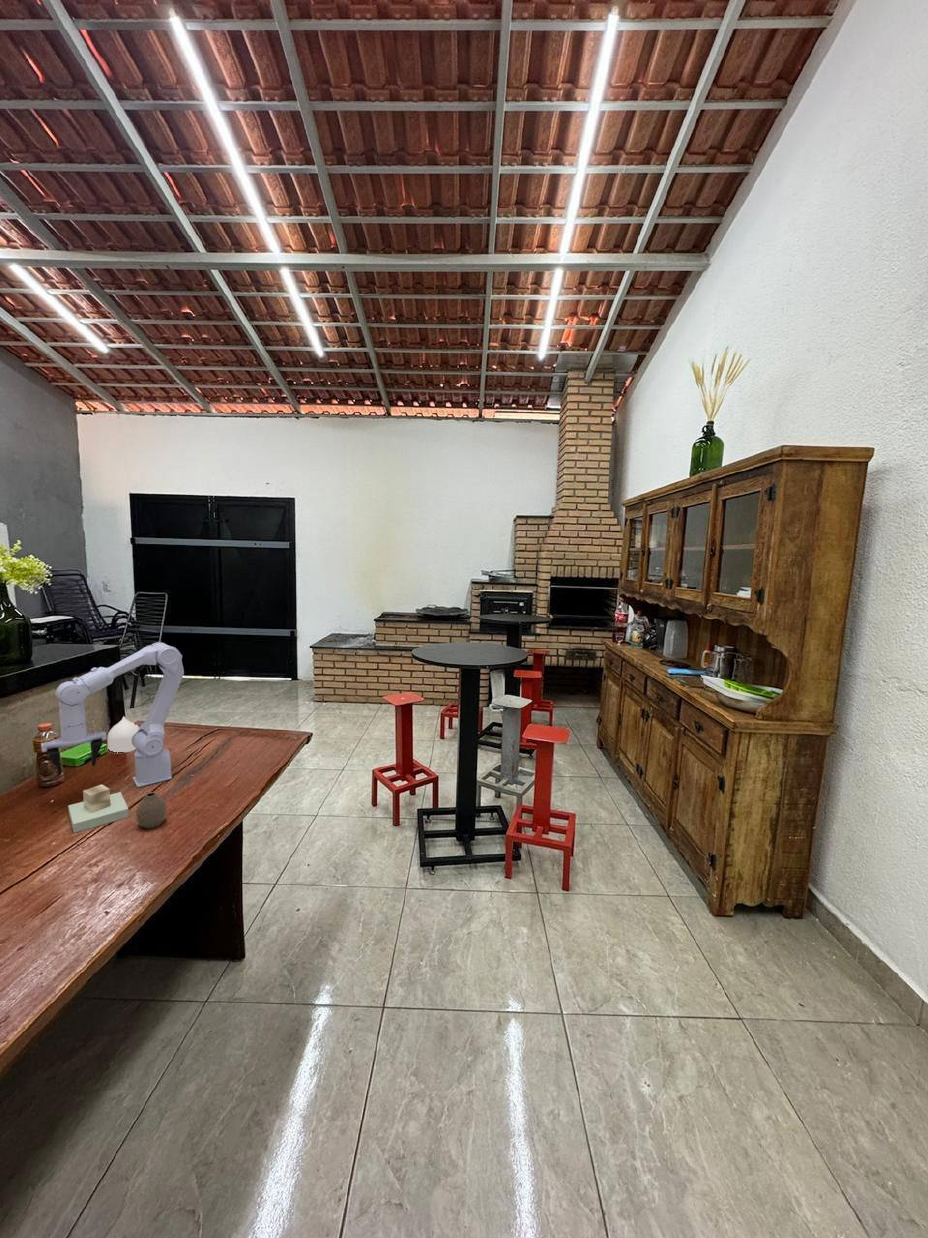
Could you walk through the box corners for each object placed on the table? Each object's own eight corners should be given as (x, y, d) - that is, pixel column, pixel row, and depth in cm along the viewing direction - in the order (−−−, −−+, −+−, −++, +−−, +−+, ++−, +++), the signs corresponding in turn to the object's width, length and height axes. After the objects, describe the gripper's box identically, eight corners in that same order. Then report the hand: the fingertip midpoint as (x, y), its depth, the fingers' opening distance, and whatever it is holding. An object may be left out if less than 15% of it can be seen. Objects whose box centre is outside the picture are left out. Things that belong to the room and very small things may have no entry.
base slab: (121, 800, 144) (120, 792, 144) (128, 817, 135) (128, 808, 135) (69, 814, 136) (68, 805, 135) (73, 833, 127) (73, 824, 127)
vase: (173, 820, 134) (171, 791, 133) (149, 834, 128) (148, 803, 127) (154, 815, 137) (152, 786, 135) (130, 828, 130) (128, 797, 129)
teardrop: (150, 743, 184) (149, 713, 182) (122, 755, 173) (120, 723, 172) (128, 739, 187) (127, 709, 185) (99, 750, 177) (97, 718, 175)
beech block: (102, 801, 138) (101, 784, 138) (110, 805, 136) (109, 788, 135) (84, 807, 135) (82, 790, 134) (91, 812, 132) (90, 795, 132)
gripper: (102, 714, 147) (105, 757, 149) (38, 725, 137) (43, 770, 139) (106, 721, 142) (109, 765, 144) (40, 732, 132) (44, 779, 134)
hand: (76, 768), depth 141 cm, fingers open, 7 cm apart
